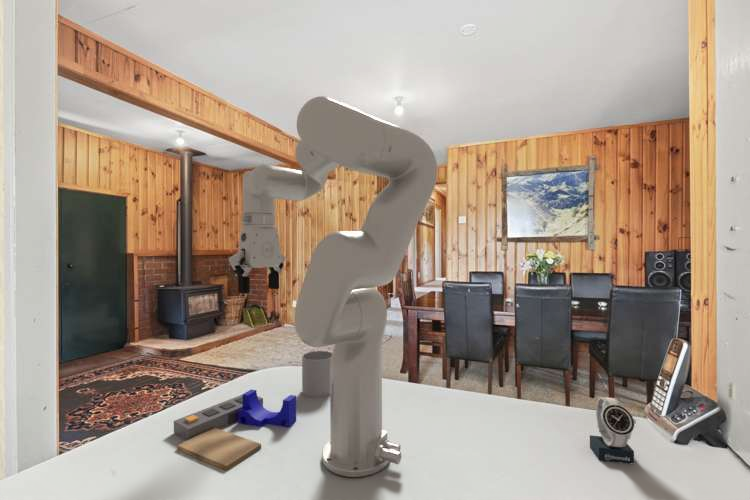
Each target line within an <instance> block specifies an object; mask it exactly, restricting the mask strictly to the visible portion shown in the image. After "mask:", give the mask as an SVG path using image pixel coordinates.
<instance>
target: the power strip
mask: <svg viewBox="0 0 750 500" xmlns="http://www.w3.org/2000/svg"><path fill="white" fill-rule="evenodd" d="M257 397H258V400H259V402H260V404H261V405H262V406H263V407H264V398H263V397H261V396H258V395H257ZM241 408H243V394H241V395H238V396H235V397H233V398H230V399H227V400H223V401H222V402H219V403H217V404H214V405H212V406H209V407H206V408H204V409H201V410H199V411H196V412H193V413H190V414H188V415H185V416H183V417H180V418H177V419H174V420H173V434H174V435H176V436H178V437H179V438H180V439H183V440H184V441H187V440H189V439H191V438H193V437H195V436H197V435H199V434H201V433H203V432H205V431H207V430H209V429H211V428H213V427H215V428H217V429H221V428H225V427H226V426H228V425H232V424H234V423H236V422H238V410H240V409H241Z"/></svg>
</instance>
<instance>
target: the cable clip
mask: <svg viewBox="0 0 750 500" xmlns="http://www.w3.org/2000/svg"><path fill="white" fill-rule="evenodd" d="M242 395H243V408H241V409H240V410H238V421H237V424H239V425H246V426H252V427H258V428H262V427H264V426H265V425H271V426H277V427H285V428H287V429H289V428H291V427H292V426H293V424H295V423H296V422H297V395H293V394H290V395H287V397H285V398H284V399H282V405H281V407H280V411H276V412H275V411H274V412H273V411H270V410H268V409H267V408H265V407H264V405H263V406H262V405H261V404H260V402H259V400H258V397H259V396H258V394H257V389H250V390H247V391H246V392H244V393H243V394H242ZM257 396H258V397H257Z"/></svg>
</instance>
